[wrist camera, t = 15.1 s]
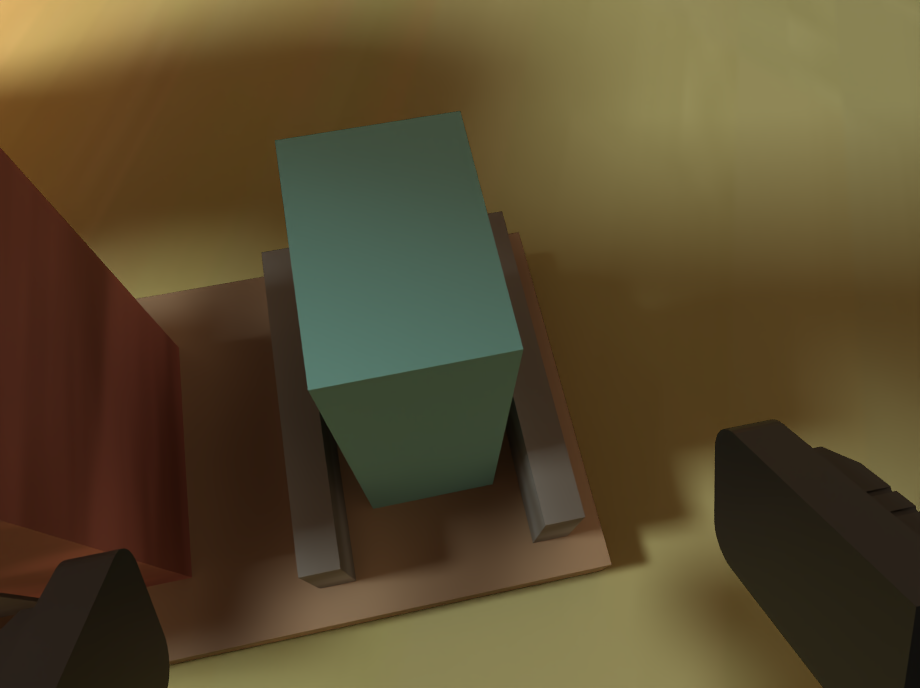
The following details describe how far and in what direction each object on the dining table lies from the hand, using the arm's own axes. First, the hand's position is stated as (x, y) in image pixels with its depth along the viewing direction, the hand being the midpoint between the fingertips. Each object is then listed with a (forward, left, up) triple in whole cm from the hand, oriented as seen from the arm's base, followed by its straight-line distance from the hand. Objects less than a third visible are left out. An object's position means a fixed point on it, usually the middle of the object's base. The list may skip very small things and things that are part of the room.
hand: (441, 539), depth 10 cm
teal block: (-4, +3, -11) cm, 12 cm away
